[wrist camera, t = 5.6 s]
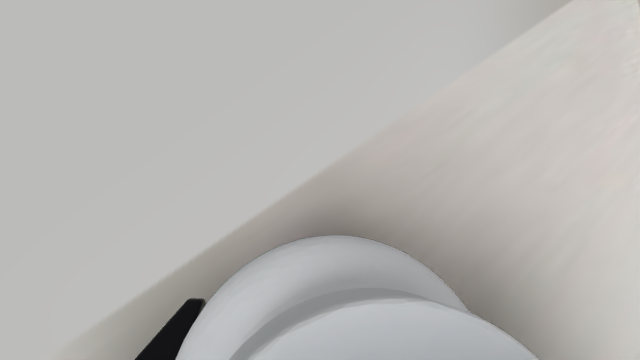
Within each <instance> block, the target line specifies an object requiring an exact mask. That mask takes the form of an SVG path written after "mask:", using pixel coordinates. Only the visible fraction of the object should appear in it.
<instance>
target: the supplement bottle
mask: <svg viewBox="0 0 640 360" xmlns="http://www.w3.org/2000/svg"><path fill="white" fill-rule="evenodd" d="M176 360H539V359H538V358H537V357H536V356H535V355H534V354H533V353H532V352H531V351H530V350H528V349H527V348H526V347H525V346H523V345H522V344H521V343H520V342H519V341H517V340H516V339H515V338H513V337H512V336H510V335H508V334H507V333H505V332H504V331H502V330H501V329H499V328H498V327H496V326H495V325H493V324H491V323H489V322H488V321H486V320H484V319H482V318H480V317H478V316H477V315H475V314H472V313H470V312H469V311H468V310H467V308H466V307H465V306H464V304H463V303H462V302H461V300H460V299H459V298H458V297H457V296H456V294H455V293H454V292H453V291H452V290H451V289H450V288H449V287H448V286H447V285H446V284H445V283H444V282H443V281H442V280H441V279H440V278H439V277H438V276H437V275H436V274H435V273H434V272H432V271H431V270H430V269H429V268H428V267H426V266H425V265H423V264H422V263H420V262H419V261H417V260H416V259H414V258H413V257H411V256H409V255H408V254H406V253H404V252H402V251H400V250H398V249H396V248H394V247H391V246H389V245H387V244H384V243H381V242H377V241H374V240H371V239H367V238H362V237H355V236H346V235H325V236H316V237H309V238H304V239H300V240H297V241H293V242H290V243H287V244H284V245H281V246H279V247H277V248H274V249H272V250H270V251H268V252H266V253H264V254H262V255H260V256H259V257H257V258H255V259H254V260H252V261H251V262H249V263H248V264H246V265H245V266H244V267H242V268H241V269H240V270H239V271H237V272H236V273H235V274H234V275H233V276H231V277H230V278H229V279H228V280H227V281H226V282H225V283H224V284H223V285H222V286H221V287H220V288H219V289H218V291H217V292H216V293H215V294H214V295H213V296H212V297H211V299H210V300H209V301H208V302H207V304H206V305H205V307H204V308H203V310H202V311H201V313H200V314H199V316H198V317H197V319H196V320H195V322H194V323H193V325H192V327H191V328H190V330H189V332H188V334H187V336H186V337H185V339H184V341H183V343H182V346H181V348H180V350H179V353H178V355H177V357H176Z"/></svg>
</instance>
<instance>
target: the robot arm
mask: <svg viewBox="0 0 640 360" xmlns="http://www.w3.org/2000/svg"><path fill="white" fill-rule="evenodd" d="M205 305H206V304H205V300H204V299H196V298H191V299H189V300H187V301H186V302H185V303H184V305H183V306H182V307H181V308H180V309H179V310H178V311H177V312H176V314H175V315H174V316H173V317H172V318H171V319H170V320H169V321H168V323H167V324H166V325H165V326H164V327H163V328H162V329H161V330H160V332H159V333H158V334H157V335H156V336H155V337H154V338H153V340H152V341H151V342H150V343H149V344H148V345H147V346H146V347H145V349H144V350H143V351H142V352H141V353H140V354H139V355H138V356H137V358H136V359H135V360H176V357H177V355H178V353H179V350H180V348H181V346H182V343H183V341H184V339H185V337H186V336H187V334H188V332H189V330H190V328H191V327H192V325H193V323H194V322H195V320H196V319H197V317H198V316H199V314H200V313H201V311H202V310H203V308H204V307H205Z"/></svg>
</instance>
